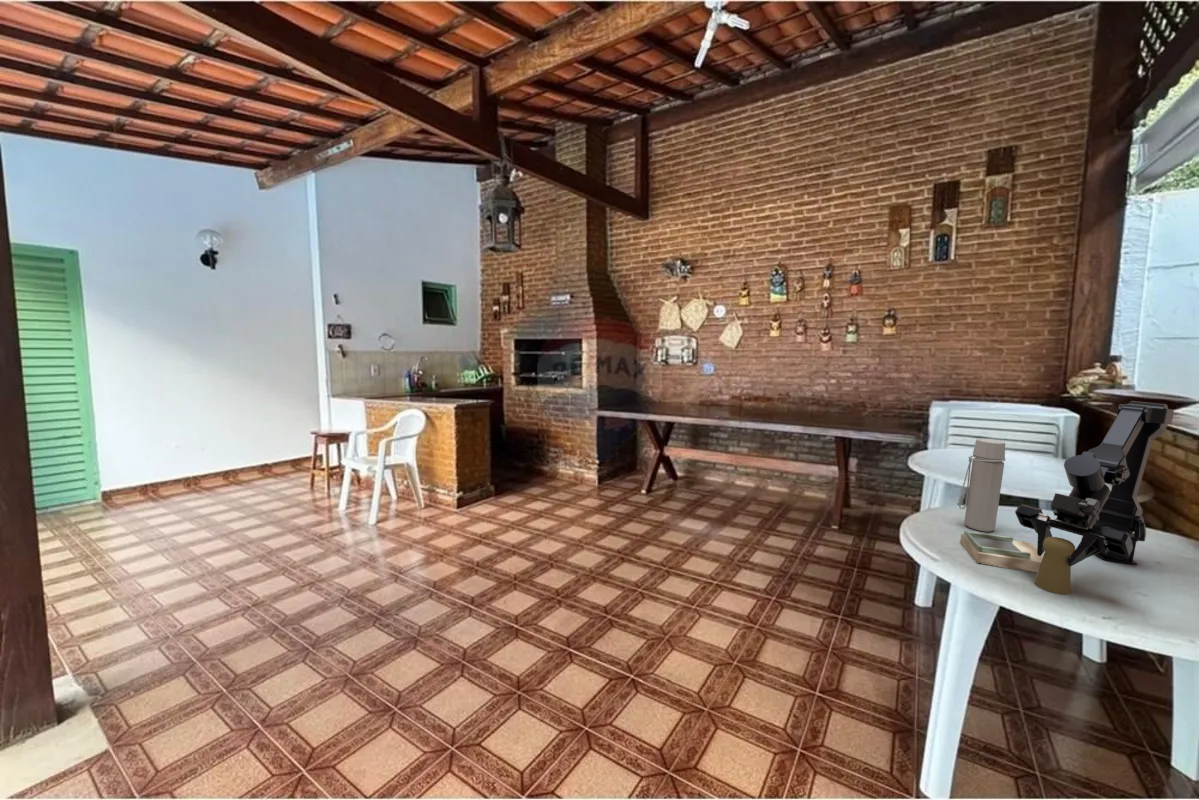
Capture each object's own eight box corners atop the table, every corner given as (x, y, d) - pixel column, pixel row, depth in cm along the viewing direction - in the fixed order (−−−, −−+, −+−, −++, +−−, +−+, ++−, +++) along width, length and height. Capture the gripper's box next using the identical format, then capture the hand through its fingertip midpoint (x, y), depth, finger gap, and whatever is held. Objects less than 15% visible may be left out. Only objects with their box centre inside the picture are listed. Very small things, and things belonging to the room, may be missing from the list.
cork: (1078, 595, 109) (1087, 545, 107) (1049, 594, 109) (1057, 544, 107) (1054, 581, 115) (1062, 534, 113) (1026, 580, 115) (1034, 533, 113)
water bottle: (989, 525, 148) (1001, 439, 144) (1000, 535, 140) (1013, 445, 137) (951, 520, 151) (962, 436, 147) (960, 529, 143) (972, 441, 140)
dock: (1029, 552, 130) (1032, 538, 129) (1055, 575, 118) (1057, 559, 117) (960, 542, 135) (961, 529, 134) (977, 563, 122) (979, 548, 122)
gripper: (1025, 470, 118) (993, 523, 115) (1137, 494, 102) (1105, 557, 98) (1036, 498, 123) (1006, 550, 120) (1145, 525, 107) (1114, 587, 103)
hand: (1053, 559), depth 110 cm, fingers closed on cork, 5 cm apart
